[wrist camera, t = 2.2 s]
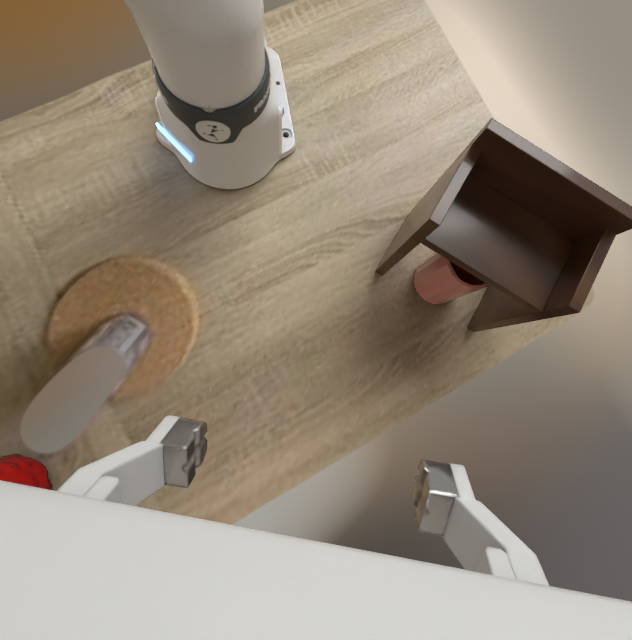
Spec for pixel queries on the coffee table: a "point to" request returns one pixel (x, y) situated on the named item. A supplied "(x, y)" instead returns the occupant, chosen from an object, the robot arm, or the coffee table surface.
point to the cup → (444, 280)
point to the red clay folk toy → (24, 471)
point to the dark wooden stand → (515, 228)
